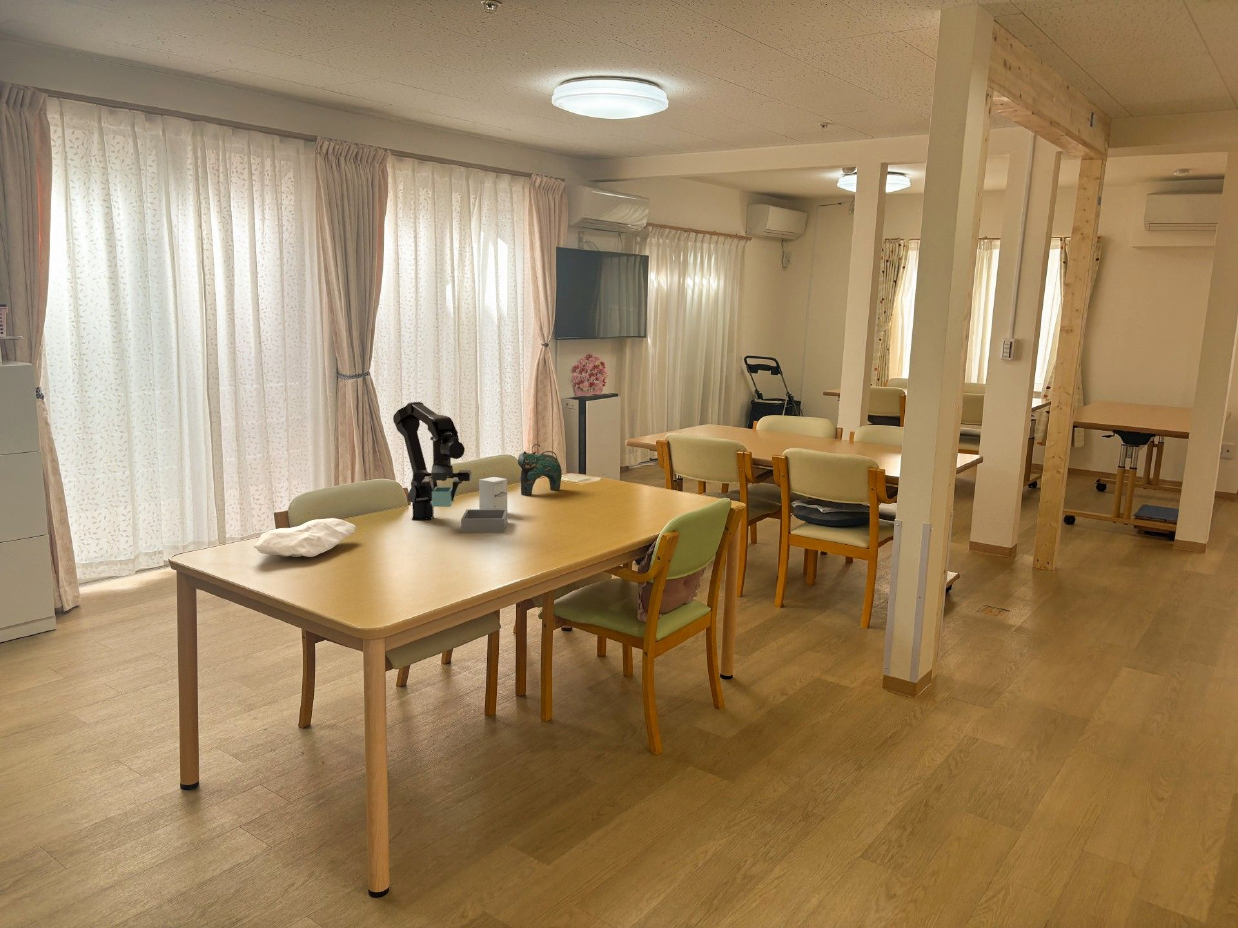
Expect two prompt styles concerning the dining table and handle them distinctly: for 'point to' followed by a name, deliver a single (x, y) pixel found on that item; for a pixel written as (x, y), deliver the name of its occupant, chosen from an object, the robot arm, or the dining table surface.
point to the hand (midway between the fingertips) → (443, 500)
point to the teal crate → (442, 497)
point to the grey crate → (484, 520)
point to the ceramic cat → (539, 470)
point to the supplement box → (493, 493)
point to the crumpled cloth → (305, 538)
